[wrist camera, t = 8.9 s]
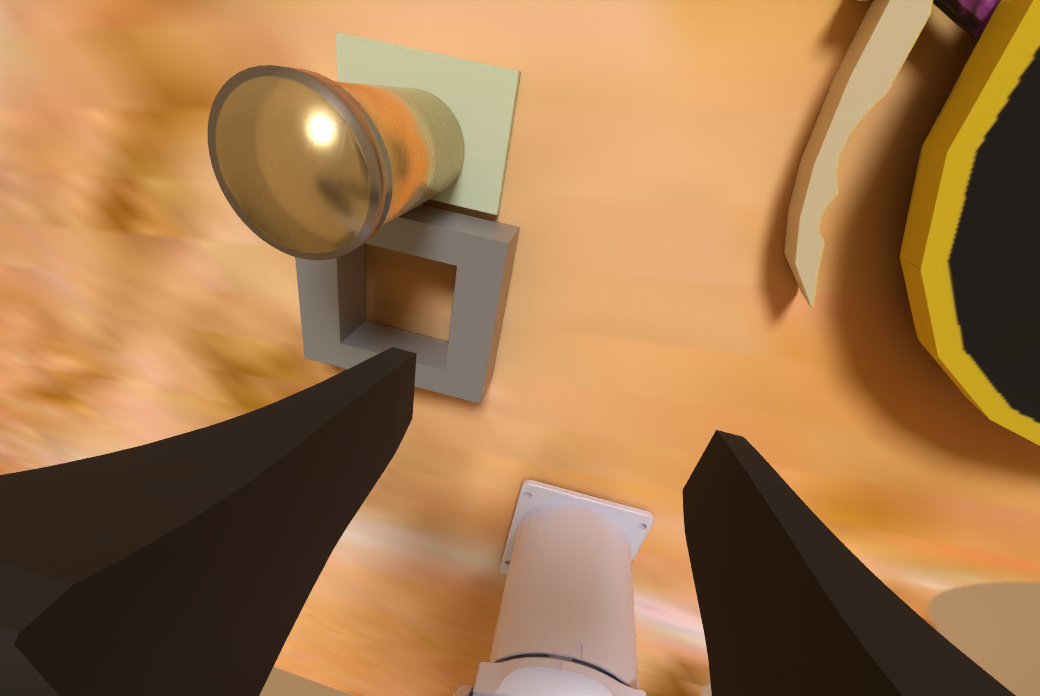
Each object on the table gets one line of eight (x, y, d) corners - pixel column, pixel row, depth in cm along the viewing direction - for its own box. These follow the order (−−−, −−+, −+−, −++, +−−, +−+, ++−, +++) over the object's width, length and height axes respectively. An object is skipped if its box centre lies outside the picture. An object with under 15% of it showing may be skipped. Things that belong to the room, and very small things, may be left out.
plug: (463, 212, 18) (377, 276, 11) (366, 190, 19) (225, 240, 12) (476, 94, 16) (378, 86, 9) (364, 71, 16) (189, 46, 9)
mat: (498, 212, 18) (496, 215, 18) (345, 177, 19) (340, 178, 18) (520, 71, 16) (519, 70, 15) (341, 33, 16) (335, 31, 16)
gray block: (492, 375, 23) (480, 404, 21) (332, 334, 23) (304, 358, 21) (519, 227, 19) (508, 243, 16) (324, 181, 19) (289, 191, 17)
